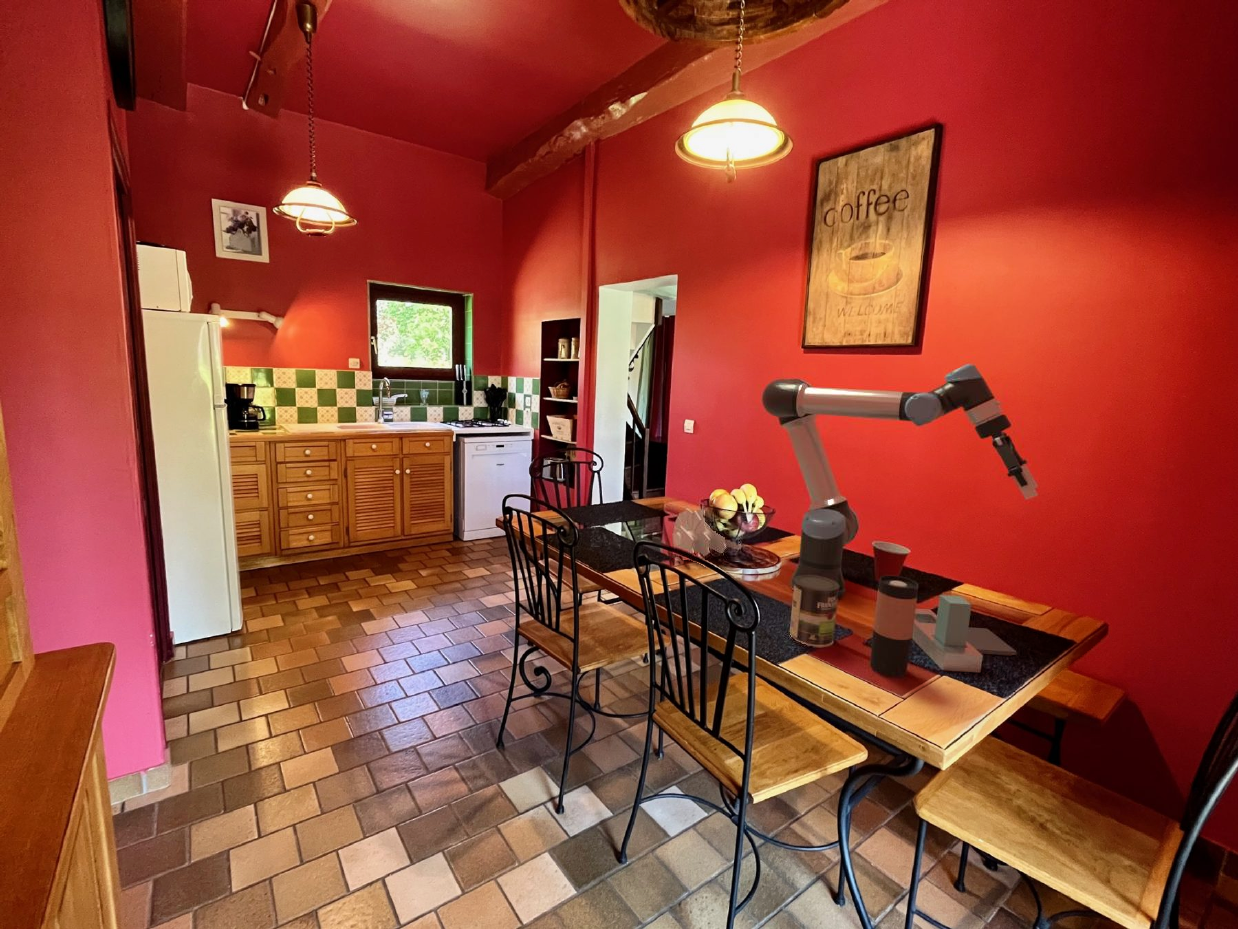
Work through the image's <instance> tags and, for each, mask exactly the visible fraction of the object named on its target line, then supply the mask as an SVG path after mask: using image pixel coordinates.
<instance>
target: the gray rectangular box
mask: <svg viewBox="0 0 1238 929" xmlns="http://www.w3.org/2000/svg"><path fill="white" fill-rule="evenodd" d="M972 606H973V605H972V603H971V602H969V601H967V600H966V599H965V598H964V597H962V596H960V595H946V594H939V598H938V605H937V614H936V615H937V620H936V627H935V634H934V638H935V639H936V640H937V641H938V642H940V643H941V644H942V645H943V646H949V647H966V640H967V633H968V627H969V625H970V617H971V612H972Z"/></svg>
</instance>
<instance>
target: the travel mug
mask: <svg viewBox="0 0 1238 929" xmlns="http://www.w3.org/2000/svg"><path fill="white" fill-rule="evenodd" d="M877 587H878V589H877V597H876V603H875V611H874V619H873V626H872V627H873V629H872V637H871V638H872V639H871V648H870V650H871V651H870V663H869V664H870V667H871V670H873V671H874V672H876V673H878V674H880V675H882V676H885V677H889V678H902V677H905V676H906V674H907V670H908V665H909V660H910V659H909V658H910V654H911V653H910V652H911V647H912V641H913V639H912V636H913V627H914V619H915V610H916V609H917V601H918V592H919V583H917V582H916V581H914V580H913V579H911V578H907V577H904V576H900V575H899V576H891V575H887V576H882V577H880V579H879V583H878V586H877Z"/></svg>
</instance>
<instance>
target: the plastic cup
mask: <svg viewBox="0 0 1238 929" xmlns="http://www.w3.org/2000/svg"><path fill="white" fill-rule="evenodd" d="M871 545H872V547H873V548H872V549H873V561H874V563H873V564H874V572H875V573H874V574H875V582H876V581H877V582H879V579H880V577H882V576H887V575H891V576H900V575H901V572H902V569H903V568H904V563H905V561H906V559H907V557H908V555H909V554H910V553H911V550H910V549H909V548H908V547H905V546H902V545H900V544H897V543H892V542H886V541H879V540H877V541H873V542H871ZM877 582H876V583H877Z"/></svg>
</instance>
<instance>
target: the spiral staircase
mask: <svg viewBox="0 0 1238 929" xmlns="http://www.w3.org/2000/svg"><path fill="white" fill-rule="evenodd" d="M703 507H704V506H702V507H701V508H702V509H698V510H694V511H692V510H691V509H690V508H685V511H681V512H678V516H677V517H676V520H675V522H674V524H673V525H674V526H673V532H672V535H671V536H672V542H673V547H674V546H675V547H678V548H681V549H684V550H686V551H688V552H690V553H694V551H695V552H698V553H701V554H703V556H706V557H707V555H709V553H710V551H709V548H710V549H713V550H715V551H717V552H719V553H723V554H724V552H725V551H724V550H725V549H726V548H727V547H726V546H729V547H731V548H733V549H737V550H738V551H739V550H740V549H741V548H742V544H741V541H740V542H739V543H740V544H738V545H736V544H735V543H734V542H731V541H730V540H725V537H723V536H721V535H720V534H718V533H716V531H713V530H712V529H711V528H710V526H709V525H708V524H707V523H706V522H705V518H704V517H703ZM675 547H674V548H675Z"/></svg>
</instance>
